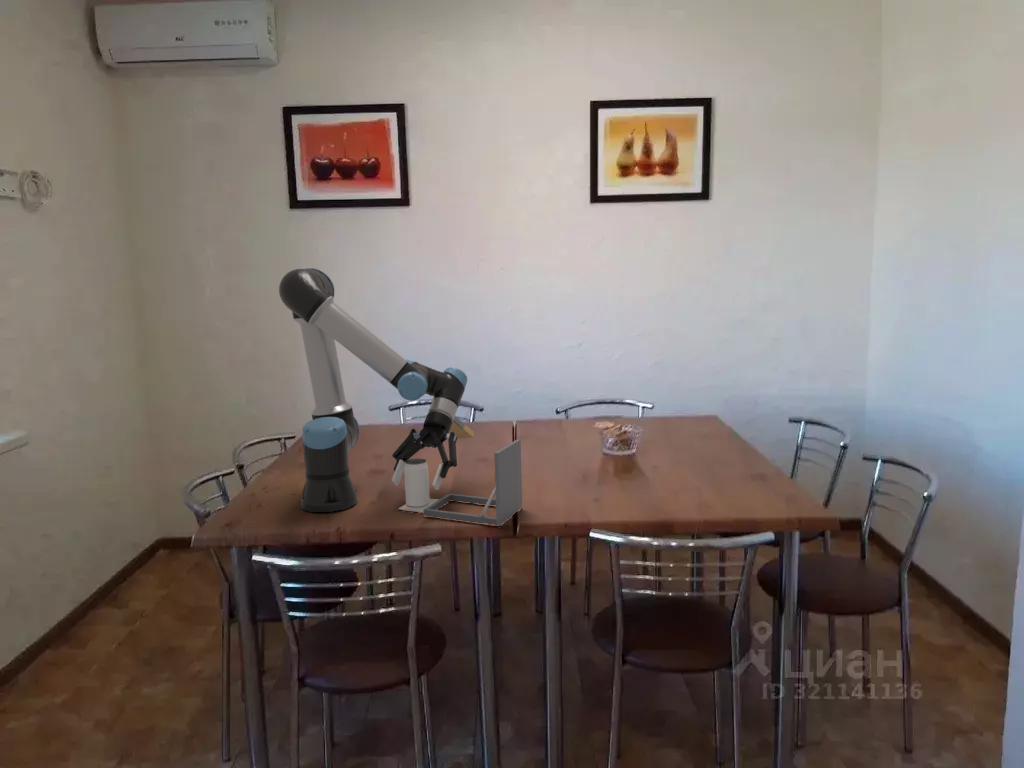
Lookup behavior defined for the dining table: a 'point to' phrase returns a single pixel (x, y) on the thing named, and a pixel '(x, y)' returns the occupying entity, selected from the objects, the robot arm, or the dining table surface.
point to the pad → (419, 509)
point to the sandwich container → (460, 428)
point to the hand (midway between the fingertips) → (414, 485)
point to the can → (416, 482)
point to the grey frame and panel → (506, 491)
